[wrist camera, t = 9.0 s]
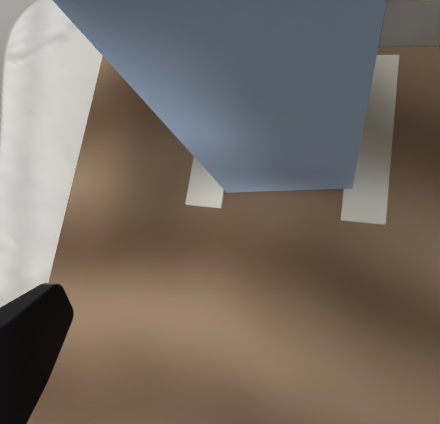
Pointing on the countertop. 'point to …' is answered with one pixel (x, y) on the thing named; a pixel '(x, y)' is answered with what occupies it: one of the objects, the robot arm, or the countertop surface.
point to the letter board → (252, 275)
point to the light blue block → (248, 81)
